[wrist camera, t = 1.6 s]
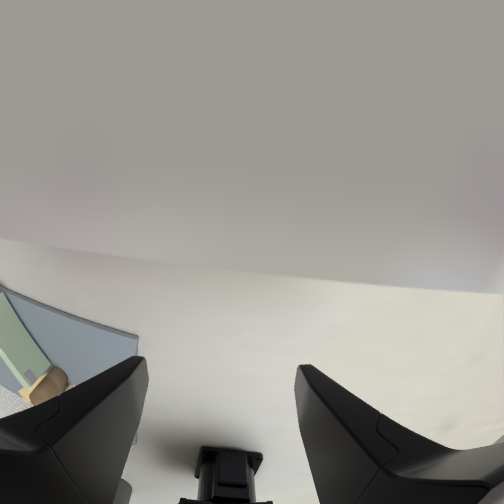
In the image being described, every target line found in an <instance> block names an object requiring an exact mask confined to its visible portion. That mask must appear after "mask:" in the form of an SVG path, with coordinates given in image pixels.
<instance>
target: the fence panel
mask: <svg viewBox="0 0 504 504" xmlns="http://www.w3.org/2000/svg"><path fill="white" fill-rule="evenodd" d="M0 356H1V358H2V359H3V360H4V362H5V363H6V365H7V366H8V367H9V369H10V370H11V371H12V373H13V374H14V375H15V377H16V378H17V379H18V381H19V382H20V383H21V384H22V386H23V387H24V388H25V389H26V390H27V389H29V388H30V387H31V386H32V385H33V384H34V383H35V382H36V381H37V380H38V378H39V377H40V376H41V375H42V374H43V373H44V372H45V371H46V370H47V368H48V367H49V366H50V365H51V363H50V362H49V361H48V360H47V358H46V357H45V356H44V354H43V353H42V352H41V350H40V349H39V348H38V346H37V345H36V344H35V342H34V341H33V339H32V338H31V336H30V335H29V334H28V332H27V331H26V329H25V328H24V326H23V325H22V323H21V322H20V320H19V318H18V317H17V315H16V314H15V312H14V310H13V309H12V307H11V306H10V304H9V302H8V300H7V299H6V297H5V295H4V293H3V292H1V293H0Z"/></svg>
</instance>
